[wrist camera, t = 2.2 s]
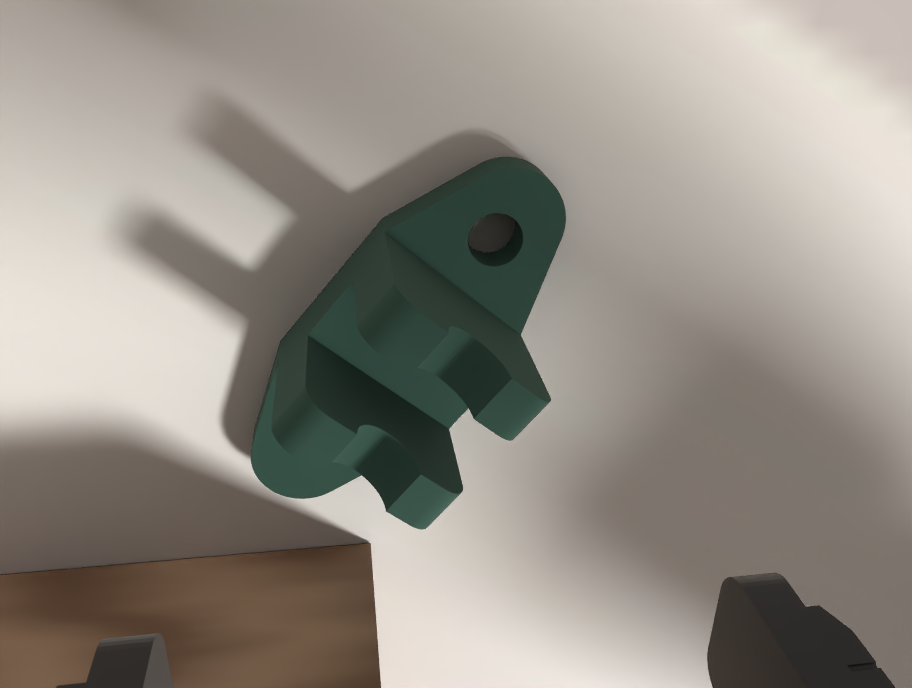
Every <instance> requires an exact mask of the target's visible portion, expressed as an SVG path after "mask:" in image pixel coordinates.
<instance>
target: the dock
mask: <svg viewBox="0 0 912 688" xmlns="http://www.w3.org/2000/svg"><path fill="white" fill-rule="evenodd" d="M156 633H160V634H161V635H162V636H163V639H164V643H165V647H166V652H167V657H168V662H169V667H170V672H171V677H172V682H173V686H174V688H381V681H380V668H379V654H378V640H377V626H376V613H375V599H374V585H373V571H372V558H371V544H370V543H367V544H356V545H344V546H332V547H321V548H309V549H298V550H286V551H274V552H263V553H251V554H239V555H228V556H216V557H204V558H193V559H181V560H170V561H158V562H146V563H135V564H123V565H111V566H100V567H88V568H76V569H65V570H53V571H42V572H30V573H18V574H7V575H0V688H56V687H57V686H58V685H67V684H77V683H86V681H87V678H88V674H89V671H90V668H91V665H92V661H93V658H94V655H95V652H96V649H97V646H98V644H99V642H100V641H101V640H102V639H106V638H116V637H126V636H136V635H146V634H156Z"/></svg>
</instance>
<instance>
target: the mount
mask: <svg viewBox="0 0 912 688" xmlns="http://www.w3.org/2000/svg"><path fill="white" fill-rule="evenodd" d="M494 213H501V214H506V215H508V216H510V217H512V218H513V219H514V221H515V229H514V233H513V236H512V238H511V240H510V241H509V242H508V243H507V244H506V245H505V246H504V247H503V248H501V249H499V250H497V251H494V252H489V253H485V252H479V251H477V250H474V249H473V248H471V247H470V246H469V245H468V237H469V233H470V231H471V229H472V227H473V225H474V224H475V223H476V222H477V221H478V220H479V219H481V218H482V217H484V216H486V215H489V214H494ZM565 222H566V214H565V207H564V203H563V200H562V197H561V195H560V193H559V192H558V190H557V189H556V187H555V186H554V185H553V184H552V183H551V181H550V180H549V179H548V178H547V177H546V176H545V175H544V174H543V172H542V171H541V170H539V169H538V168H537V167H536V166H534V165H533V164H531V163H529V162H527V161H525V160H522V159H518V158H512V157H500V158H494V159H490V160H487V161H485V162H482V163H480V164H478V165H477V166H475V167H473V168H471V169H470V170H468V171H466V172H464V173H462V174H461V175H459V176H457V177H455V178H454V179H452V180H450V181H448V182H446V183H445V184H443V185H441V186H439V187H438V188H436V189H434V190H432V191H431V192H429V193H427V194H425V195H423V196H422V197H420V198H418V199H416V200H415V201H413V202H411V203H409V204H407V205H406V206H404V207H402V208H400V209H399V210H397V211H395V212H393V213H391V214H390V215H388V216H386V217H384V218H383V219H382V220H381V221H380V222H379V223H378V224H377V226H376V227H375V228H374V229H373V230H372V232H371V233H370V234H369V235H368V236H367V238H366V239H365V240H364V241H363V242H362V244H361V245H360V246H359V247H358V248H357V250H356V251H355V252H354V253H353V254H352V256H351V257H350V258H349V259H348V260H347V262H346V263H345V264H344V265H343V266H342V268H341V269H340V270H339V271H338V272H337V274H336V275H335V276H334V277H333V279H332V280H331V281H330V282H329V283H328V285H327V286H326V287H325V288H324V289H323V291H322V292H321V293H320V294H319V295H318V297H317V298H316V299H315V300H314V301H313V303H312V304H311V305H310V306H309V307H308V309H307V310H306V311H305V312H304V313H303V315H302V316H301V317H300V318H299V319H298V321H297V322H296V323H295V324H294V325H293V327H292V328H291V329H290V330H289V331H288V333H287V334H286V335H285V336H284V337H283V339H282V340H281V341H280V345H279V348H278V352H277V355H276V358H275V362H274V365H273V368H272V372H271V375H270V378H269V382H268V385H267V388H266V392H265V395H264V398H263V402H262V405H261V409H260V412H259V415H258V419H257V422H256V425H255V429H254V435H253V442H252V449H251V464H252V467H253V470H254V472H255V474H256V476H257V477H258V479H259V480H260V481H261V482H262V483H263V484H264V485H265V486H266V487H267V488H269V489H270V490H272V491H273V492H275V493H278V494H280V495H283V496H286V497H290V498H299V499H305V498H313V497H318V496H321V495H324V494H327V493H329V492H331V491H333V490H335V489H336V488H338V487H340V486H342V485H344V484H346V483H348V482H350V481H352V480H353V479H355V478H357V477H359V476H361V475H362V476H363V477H365V478H366V479H367V480H368V481H369V482H370V483H371V484H372V485H373V487H374V488H375V489H376V490H377V492H378V493H379V495H380V496H381V498H382V500H383V502H384V505H385V508H386V512H388V513H390V514H392V515H393V516H395V517H397V518H398V519H400V520H402V521H403V522H405V523H407V524H409V525H410V526H412V527H414V528H417V529H426V528H427V527H428V526H429V525H430V524H431V523H432V522H433V521H434V520H435V519H436V518H437V517H438V516H439V515H440V514H441V513H442V512H443V511H444V510H445V509H446V508H447V507H448V506H449V505H450V504H451V503H452V502H453V501H454V499H455V498H456V497H457V496H458V495H459V494H460V493H461V492H462V491H463V485H462V481H461V477H460V473H459V469H458V465H457V460H456V456H455V452H454V448H453V444H452V440H451V436H450V432H449V428H450V427H451V426H452V425H453V424H454V423H455V422H456V421H457V420H458V418H459V417H460V416H461V415H462V414H463V413H464V412H465V411H466V410H467V409H468V408H469V410H470V411H471V413H472V415H473V418H474V419H475V420H476V421H478V422H479V423H481V424H482V425H484V426H485V427H487V428H488V429H489V430H491V431H492V432H494V433H495V434H497V435H498V436H500V437H502V438H504V439H506V440H513V439H514V438H515V437H516V436H517V435H518V434H519V433H520V432H521V431H522V430H523V429H524V428H525V427H526V426H527V425H528V424H529V423H530V422H531V421H532V420H533V419H534V418H535V417H536V416H537V415H538V414H539V412H540V411H541V410H542V409H543V408H544V407H545V406H546V405H547V404H548V403H549V402H550V401H551V398H550V395H549V393H548V391H547V389H546V387H545V385H544V383H543V381H542V379H541V377H540V375H539V372H538V370H537V368H536V366H535V364H534V362H533V360H532V358H531V356H530V354H529V352H528V349H527V347H526V345H525V343H524V341H523V339H522V337H521V333H522V330H523V328H524V325H525V323H526V321H527V318H528V316H529V314H530V311H531V309H532V307H533V304H534V302H535V300H536V297H537V295H538V293H539V290H540V288H541V286H542V283H543V281H544V279H545V276H546V274H547V272H548V269H549V267H550V264H551V262H552V260H553V257H554V255H555V253H556V250H557V248H558V246H559V243H560V241H561V239H562V236H563V233H564V229H565Z"/></svg>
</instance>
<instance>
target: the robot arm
mask: <svg viewBox="0 0 912 688" xmlns="http://www.w3.org/2000/svg"><path fill="white" fill-rule="evenodd" d="M707 660H708V670H709V676H710V680H711V683H712V687H713V688H895V687H894V685H893V684H892V683H891V681H890V680H889V679H888V677H887V676H886V675H885V673H884V672H883V671H882V669H881V668H877V666H876V661H875V660H874V659H873V657H872V656H871V655H870V653H869V652H868V651H867V649H866V648H865V647H864V645H863V644H862V643H861V642H860V640H859V639H858V638H857V636H856V635H855V634H854V632H853V631H852V630H851V629H849V628H848V627H847V626H845V625H844V624H843V623H841V622H840V621H839V620H838V619H836V618H835V617H834V616H832V615H831V614H830V613H828V612H827V611H826V610H824V609H823V608H822V607H820V606H810V607H805V605H804V604H803V603H802V601H801V600H800V598H799V597H798V596H797V594H796V593H795V591H794V590H793V589H792V587H791V586H790V584H789V583H788V582H787V580H786V579H785V578H784V577H783V576H782V575H780V574H778V573H768V574H758V575H748V576H739V577H729V578H726V579H725V580H724V581H723V584H722V586H721V590H720V595H719V600H718V604H717V609H716V614H715V618H714V623H713V628H712V633H711V637H710V642H709V647H708V655H707ZM56 688H174V686H173V682H172V677H171V672H170V667H169V662H168V657H167V652H166V647H165V643H164V639H163V636H162V635H161V634H160V633H156V634H146V635H136V636H126V637H116V638H106V639H102V640H101V641H100V642H99V644H98V646H97V649H96V652H95V655H94V658H93V661H92V665H91V668H90V671H89V674H88V678H87V681H86V683H77V684H67V685H58V686H57V687H56Z"/></svg>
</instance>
